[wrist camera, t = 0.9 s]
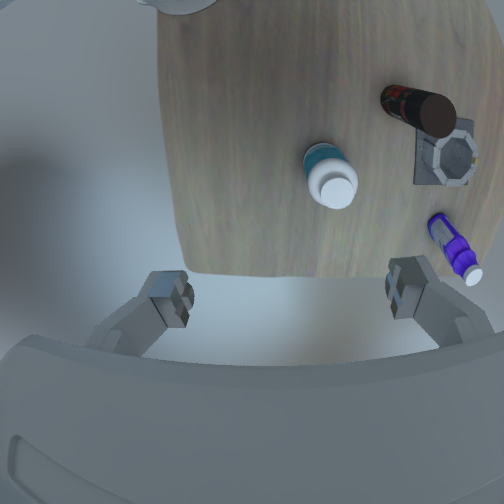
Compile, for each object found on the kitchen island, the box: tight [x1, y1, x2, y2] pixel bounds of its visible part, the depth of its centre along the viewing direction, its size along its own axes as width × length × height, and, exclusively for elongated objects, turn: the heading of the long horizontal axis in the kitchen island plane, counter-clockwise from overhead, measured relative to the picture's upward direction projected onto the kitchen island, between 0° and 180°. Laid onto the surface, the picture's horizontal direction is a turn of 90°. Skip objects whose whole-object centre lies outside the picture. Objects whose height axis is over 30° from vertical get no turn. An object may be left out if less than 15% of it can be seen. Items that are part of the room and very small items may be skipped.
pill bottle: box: [303, 143, 358, 209], centre depth 39 cm, size 8×7×14 cm
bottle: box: [428, 214, 482, 286], centre depth 42 cm, size 7×6×17 cm
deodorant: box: [381, 85, 457, 139], centre depth 30 cm, size 6×6×15 cm
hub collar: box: [413, 118, 479, 186], centre depth 37 cm, size 14×14×5 cm
